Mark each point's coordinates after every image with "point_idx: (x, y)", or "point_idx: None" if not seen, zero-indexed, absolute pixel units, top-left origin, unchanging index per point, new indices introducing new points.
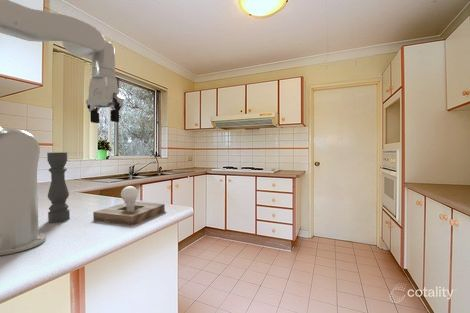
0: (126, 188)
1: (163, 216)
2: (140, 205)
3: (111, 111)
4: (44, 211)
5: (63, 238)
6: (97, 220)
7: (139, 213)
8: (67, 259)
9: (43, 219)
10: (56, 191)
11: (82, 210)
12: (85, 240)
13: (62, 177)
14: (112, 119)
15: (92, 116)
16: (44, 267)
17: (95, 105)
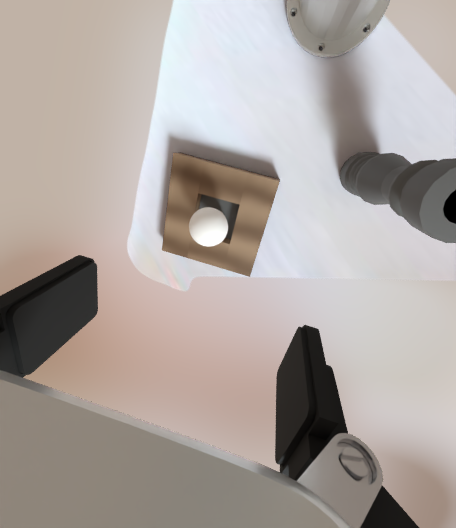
0: (205, 220)
1: (153, 210)
2: None
3: (6, 296)
4: None
5: (265, 57)
6: (268, 176)
7: (172, 176)
8: None
9: None
10: (379, 160)
11: (353, 249)
12: (214, 54)
13: (386, 184)
14: (73, 264)
15: (302, 365)
16: None
17: (190, 441)
